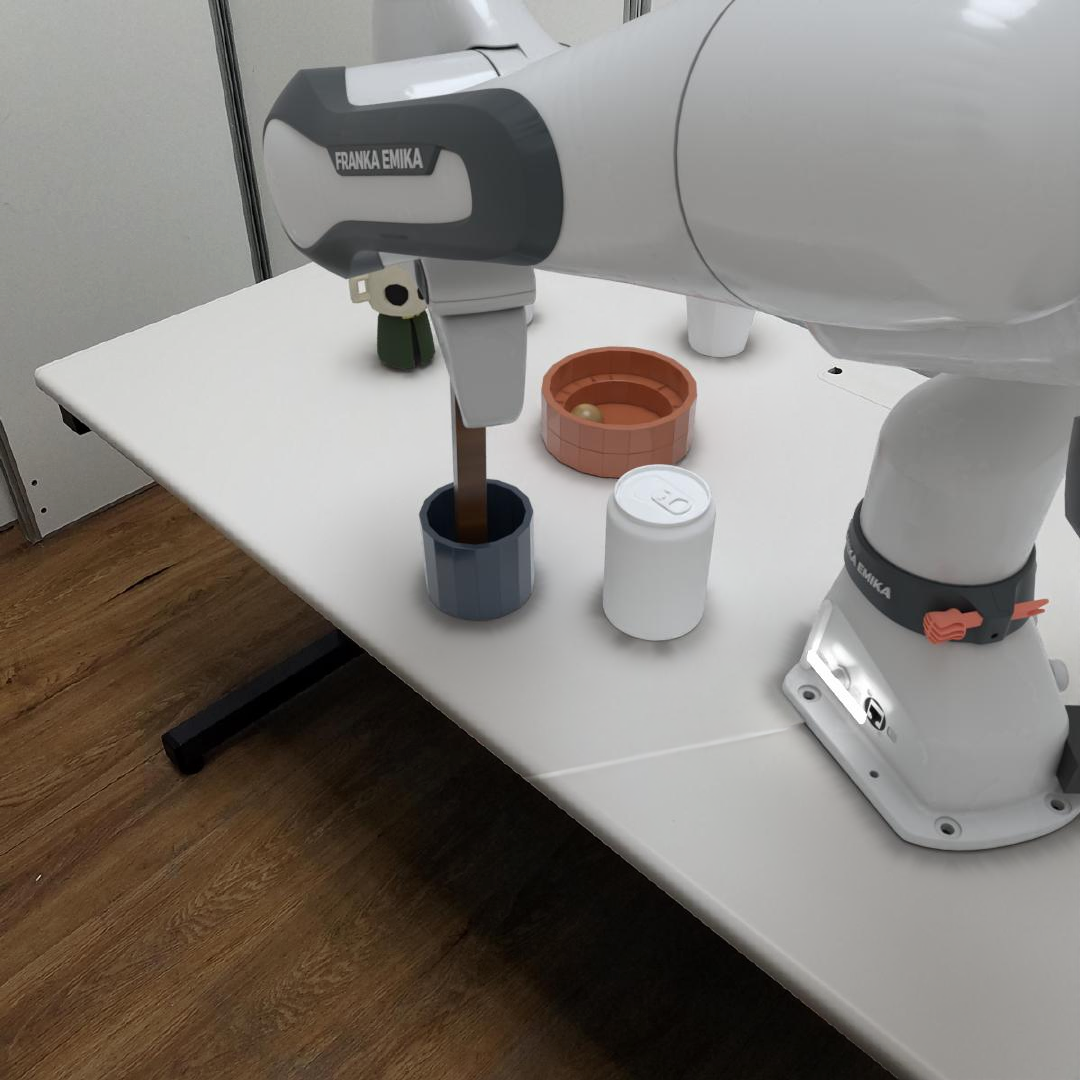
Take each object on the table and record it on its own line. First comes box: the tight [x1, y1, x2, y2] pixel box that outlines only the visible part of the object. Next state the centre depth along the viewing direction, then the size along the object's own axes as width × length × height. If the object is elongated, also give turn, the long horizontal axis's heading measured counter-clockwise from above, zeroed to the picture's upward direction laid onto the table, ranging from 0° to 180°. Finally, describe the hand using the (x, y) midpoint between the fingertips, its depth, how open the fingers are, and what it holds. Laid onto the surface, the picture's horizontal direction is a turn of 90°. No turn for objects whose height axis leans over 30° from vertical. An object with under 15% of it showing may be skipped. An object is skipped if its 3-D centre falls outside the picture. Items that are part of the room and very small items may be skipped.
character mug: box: [347, 264, 436, 370], centre depth 112 cm, size 11×7×13 cm, turn 120°
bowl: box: [540, 345, 698, 479], centre depth 103 cm, size 15×15×6 cm
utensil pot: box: [418, 478, 536, 622], centre depth 86 cm, size 9×9×8 cm
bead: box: [570, 404, 604, 424], centre depth 102 cm, size 4×4×4 cm
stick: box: [449, 379, 488, 545], centre depth 81 cm, size 2×2×20 cm
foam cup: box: [685, 295, 756, 358], centre depth 114 cm, size 10×9×13 cm
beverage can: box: [602, 465, 717, 641], centre depth 82 cm, size 8×8×12 cm
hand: (470, 408), depth 77 cm, fingers closed on stick, 2 cm apart
